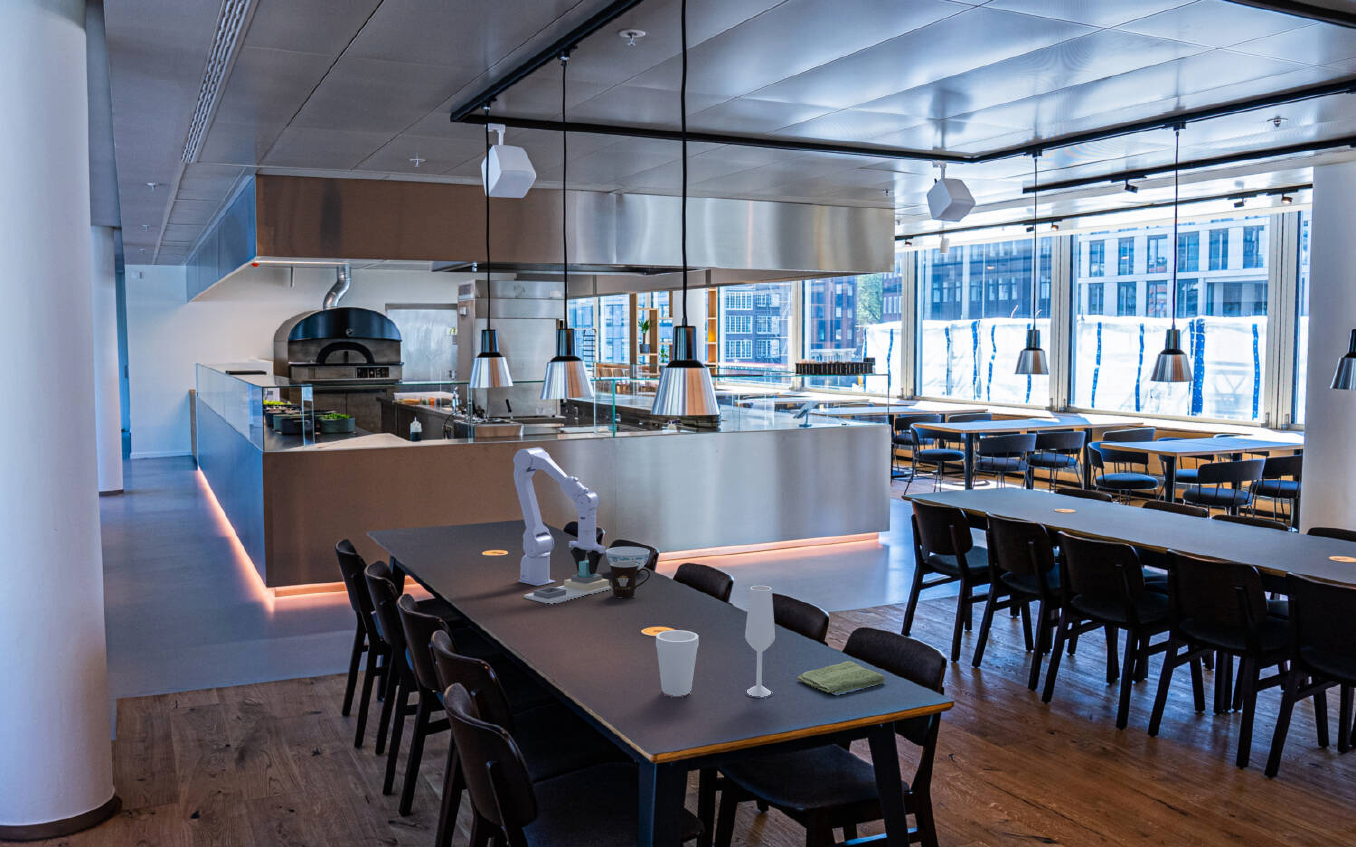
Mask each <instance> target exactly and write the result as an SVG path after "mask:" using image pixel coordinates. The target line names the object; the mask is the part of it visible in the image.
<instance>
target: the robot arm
mask: <svg viewBox="0 0 1356 847" xmlns="http://www.w3.org/2000/svg"><path fill="white" fill-rule="evenodd" d="M512 460H513V461H512V462H513V464H514V467H513V468H514V469H513V479H514V480H513V481H514V484H515V489H516V491H517V496H518V500H519V504H520V505H519V506H520V508H521V512H522V516H523V521H524V524H525V528H526V529H525V530H524V532H523V534H522V540H523V542H522V543H523V544H522V549H523V551H524V553H525V554H524V555H523V556H522V557H521V560H520V570H519V571H520V575H519V576H520V579H518V582H519V583H524V584H528V585H531V586H532V585H533V586H536V587H539V586H544V585H548V584H552V583H556V580H554V579H550V577H551V576H550V572H551V571H550V569H551V568H550V564H551V563H550V561H551V559H550V558H551V551H553V549H554V547H555V540H554V537H553V536H552V534H551V533H550V529H549V528H548V527H547V526H546V525H544V523H543V520H542V514H541V512H540V507H539V503H538V500H537V499H538V498H537V495H536V492H535V487H534V482H533V480H532V478H533V476H534V474H535V473H536V471H538V470H542V471H543V472H545V473H546V474H548V475H549V476H550V477H551V478H552V479H554V480H555V482H556V483H558V484H560V490H561V491H562V493H564V494H565V495H566V496H567V497H568V498H570V500H572V501H573V503H574V508H575V509H576V511H577V515H578V516H577V520H578V521H577V540H569V541H568V548H571V549H570V553H571V556H572V557H573V559H574V562H575V567H576V570H577V572H578V573H579V562H580V561H585V560H586V557H587V560H589V572H590V574H591V575H592V574H597V570H598V566H599V563H600V561H601V559H602V557H603V555H604V554H606V550H607V549H606V546H604V545H600V544H598V542H597V508H598V507H599V506H600V503H601V499H600V497H599V495H598V493H597V492H596V491H593V490H590V489H589V488H588V487H585V486H584V485H583V484H582V482H580V481H579V478H578V477H574V476H568V475H567V474H566V473H565V472H564V471H563V470H562V469H561V467H560V466H559V465H557V463H556V462H555V461H554V460H553V459H552V458H551V456H550V454H549V453H548V452H547V451H546V450H545V449H544V448H543V447H541V446H536V447H531V448H521V449H519V450H518V451H517V452H516V453H515V454H514V456H513V458H512ZM587 551H588V552H587Z"/></svg>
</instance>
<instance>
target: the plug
mask: <svg viewBox="0 0 1356 847" xmlns="http://www.w3.org/2000/svg"><path fill="white" fill-rule="evenodd" d="M578 574H579V577H584V578H587V577H592V576H594V574H592V575H591V574H590V572H589V560H588V559H585V561H580V562H579V572H578Z"/></svg>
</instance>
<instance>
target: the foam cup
mask: <svg viewBox="0 0 1356 847" xmlns="http://www.w3.org/2000/svg"><path fill="white" fill-rule="evenodd" d="M699 642H700V641H699V635H698V634H697V633H696V632H693V631H689V630H682V629H678V630H677V629H676V630H663V631H661V632H657V634H656V635H655V647H656V651H657V660H658V667H659V677H660V685H661V692H662V691H663V692H664V693H666V694H669V695H673V696H681V695H686V694H688V693H690V691H692V688H693V679H694V672H695V668H696V667H695V666H696V660H697V655H698V654H697V652H698V648H699ZM690 694H691V693H690Z"/></svg>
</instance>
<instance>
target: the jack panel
mask: <svg viewBox="0 0 1356 847" xmlns="http://www.w3.org/2000/svg"><path fill="white" fill-rule="evenodd" d="M563 583H564V584H563V585H561V586H560V585H559V586H556V587H554V586H547V587H544V588H543V587H542V588H539V589H534V590H533V592H531V593H530V592H529V593H527V594H524V599H527V600H530V601H531V600H532V601H536V602H541V603H542V604H543V603H544V604H547V603H550V604H549V605H551V604H552V605H554V604H553V603H556V604H559V603H564V602H568V601H571V600H570V599H572V600H575V599H574V598H576V599H579V598H578V597H580V598H582V597H581V596H584V595H587V594H592V595H595V594H594V593H596V594H598V593H599V592H600V593H603V592H602V591H604V592H607V591H606V590H608V591H610V590H609V589H611V590H612V586H610V585H609V584H610V580H609V579H608V578H607V579H606V578H603V575H602V574H599V573H596V574H594V576H592V577H587V578H584V577H579V573H578V574H573V575H570V578H568V579H564V580H563ZM584 597H585V596H584ZM567 600H568V601H567Z"/></svg>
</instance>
